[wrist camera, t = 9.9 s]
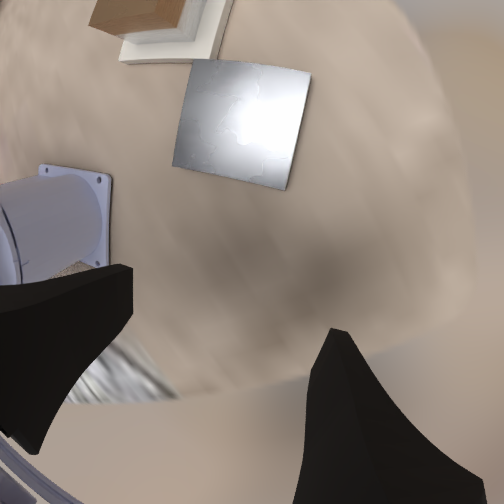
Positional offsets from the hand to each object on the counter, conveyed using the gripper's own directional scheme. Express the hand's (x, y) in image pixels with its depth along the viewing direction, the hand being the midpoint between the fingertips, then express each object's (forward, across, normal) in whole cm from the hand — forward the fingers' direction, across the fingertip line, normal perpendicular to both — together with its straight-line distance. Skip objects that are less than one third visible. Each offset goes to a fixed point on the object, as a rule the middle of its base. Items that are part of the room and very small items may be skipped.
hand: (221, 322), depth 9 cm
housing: (+8, +9, -14) cm, 18 cm away
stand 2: (+9, +3, -7) cm, 12 cm away
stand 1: (+9, +9, -14) cm, 19 cm away
